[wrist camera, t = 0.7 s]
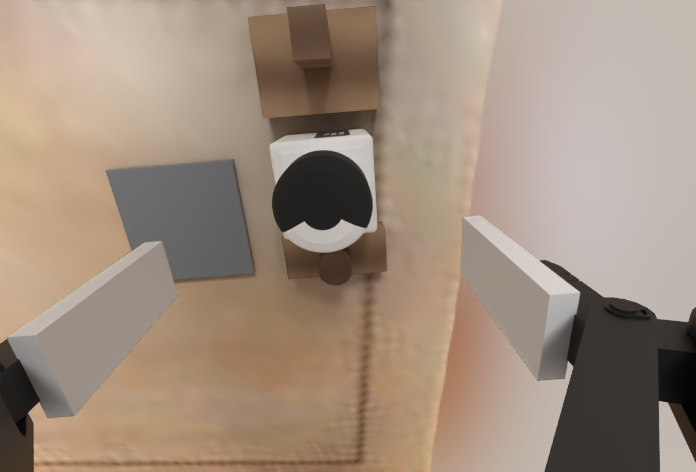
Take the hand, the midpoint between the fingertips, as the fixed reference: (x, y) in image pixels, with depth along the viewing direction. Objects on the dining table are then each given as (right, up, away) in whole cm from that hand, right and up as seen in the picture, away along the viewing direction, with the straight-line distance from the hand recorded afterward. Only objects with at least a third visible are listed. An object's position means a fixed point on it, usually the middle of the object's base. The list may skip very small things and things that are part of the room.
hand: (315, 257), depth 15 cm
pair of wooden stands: (-1, +9, +18) cm, 20 cm away
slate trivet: (-15, +2, +20) cm, 25 cm away
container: (0, +7, +19) cm, 20 cm away
